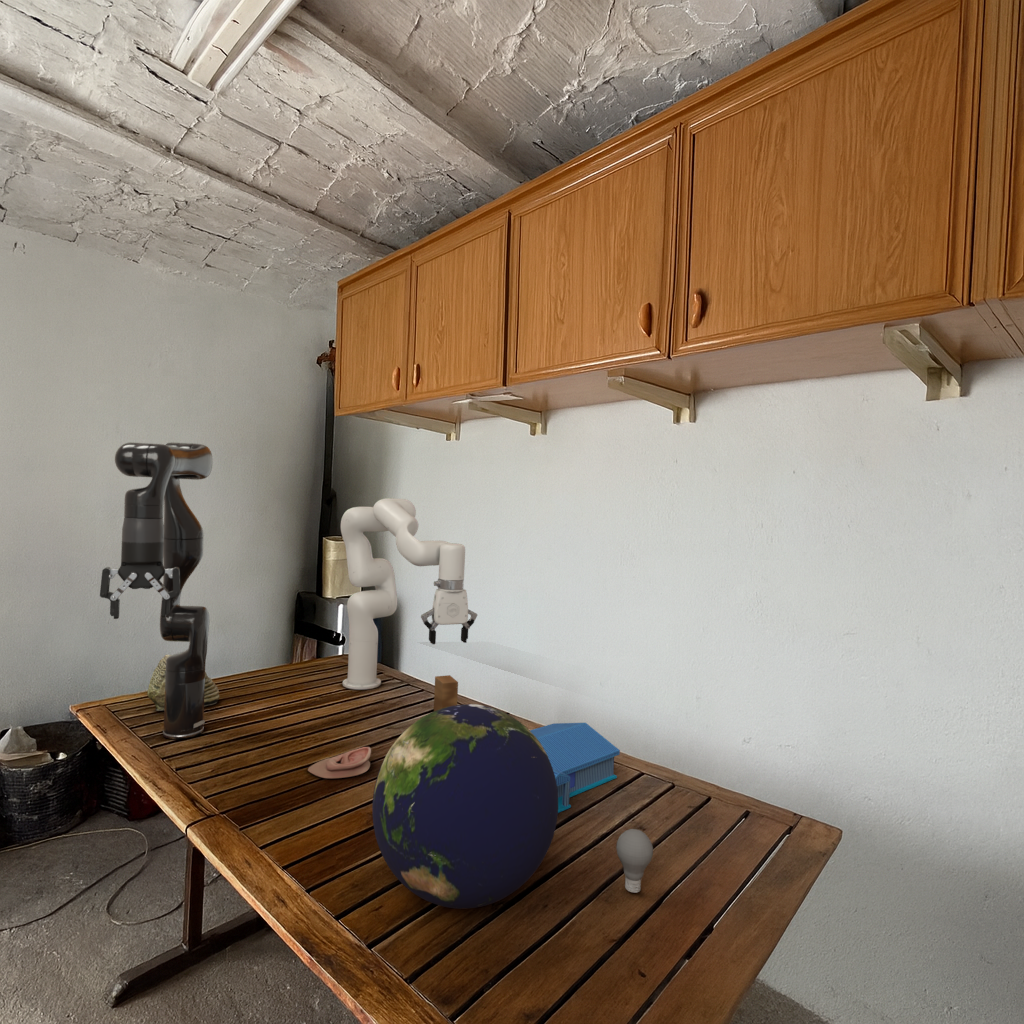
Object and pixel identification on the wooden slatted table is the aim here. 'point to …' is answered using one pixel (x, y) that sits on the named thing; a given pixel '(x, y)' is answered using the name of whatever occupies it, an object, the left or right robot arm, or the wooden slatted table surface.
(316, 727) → the wooden slatted table surface
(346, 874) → the wooden slatted table surface
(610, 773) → the model building
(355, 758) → the anatomical model
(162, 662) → the fossil
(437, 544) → the right robot arm
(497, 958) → the wooden slatted table surface
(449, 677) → the brick
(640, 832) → the light bulb
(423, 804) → the globe
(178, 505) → the left robot arm
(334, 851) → the wooden slatted table surface
